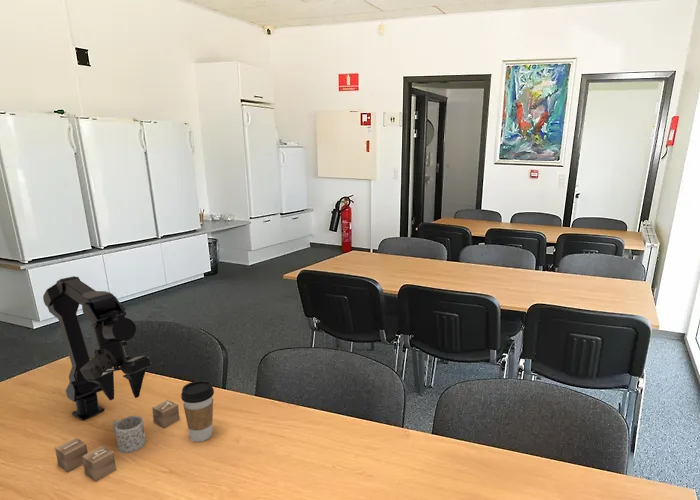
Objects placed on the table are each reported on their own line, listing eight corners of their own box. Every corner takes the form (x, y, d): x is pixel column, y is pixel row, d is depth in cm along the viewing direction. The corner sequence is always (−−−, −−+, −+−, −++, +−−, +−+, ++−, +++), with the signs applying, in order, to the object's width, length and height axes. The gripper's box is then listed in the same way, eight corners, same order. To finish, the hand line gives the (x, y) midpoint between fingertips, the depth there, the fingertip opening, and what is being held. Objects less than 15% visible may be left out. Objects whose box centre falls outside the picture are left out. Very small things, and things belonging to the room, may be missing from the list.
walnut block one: (58, 465, 112) (55, 447, 111) (78, 454, 116) (76, 436, 115) (68, 472, 110) (65, 454, 108) (88, 461, 114) (86, 443, 113)
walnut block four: (85, 474, 109) (82, 455, 108) (105, 462, 113) (102, 444, 112) (95, 482, 106) (93, 463, 105) (116, 469, 111) (113, 451, 109)
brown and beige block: (153, 423, 130) (152, 406, 129) (169, 414, 134) (167, 399, 133) (164, 428, 127) (162, 412, 126) (179, 420, 131) (178, 404, 130)
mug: (150, 441, 121) (148, 419, 120) (128, 456, 115) (125, 433, 114) (126, 431, 126) (124, 410, 124) (104, 444, 120) (101, 422, 119)
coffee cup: (207, 446, 119) (203, 395, 116) (178, 442, 121) (173, 392, 118) (222, 428, 127) (218, 379, 124) (195, 424, 129) (191, 376, 126)
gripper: (56, 355, 113) (71, 414, 114) (108, 347, 106) (125, 410, 107) (95, 342, 124) (109, 396, 124) (145, 333, 117) (159, 391, 117)
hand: (124, 398), depth 118 cm, fingers open, 9 cm apart
